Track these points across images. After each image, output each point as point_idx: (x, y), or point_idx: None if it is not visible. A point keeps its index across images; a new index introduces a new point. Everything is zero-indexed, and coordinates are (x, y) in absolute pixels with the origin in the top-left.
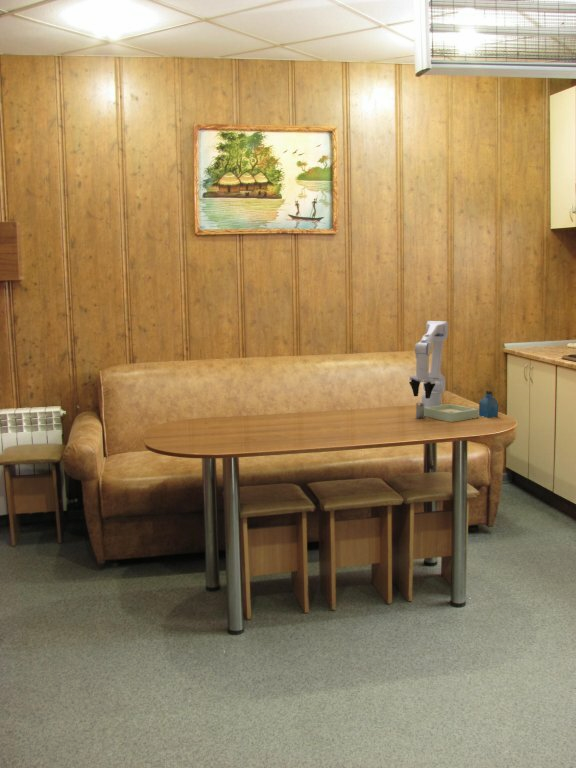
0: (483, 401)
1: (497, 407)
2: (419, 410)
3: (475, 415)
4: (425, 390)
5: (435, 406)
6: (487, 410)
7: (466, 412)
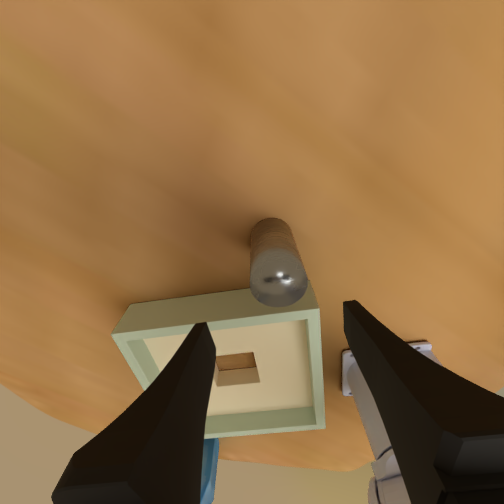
0: None
1: None
2: (257, 245)
3: None
4: (173, 382)
5: (312, 367)
6: None
7: None
